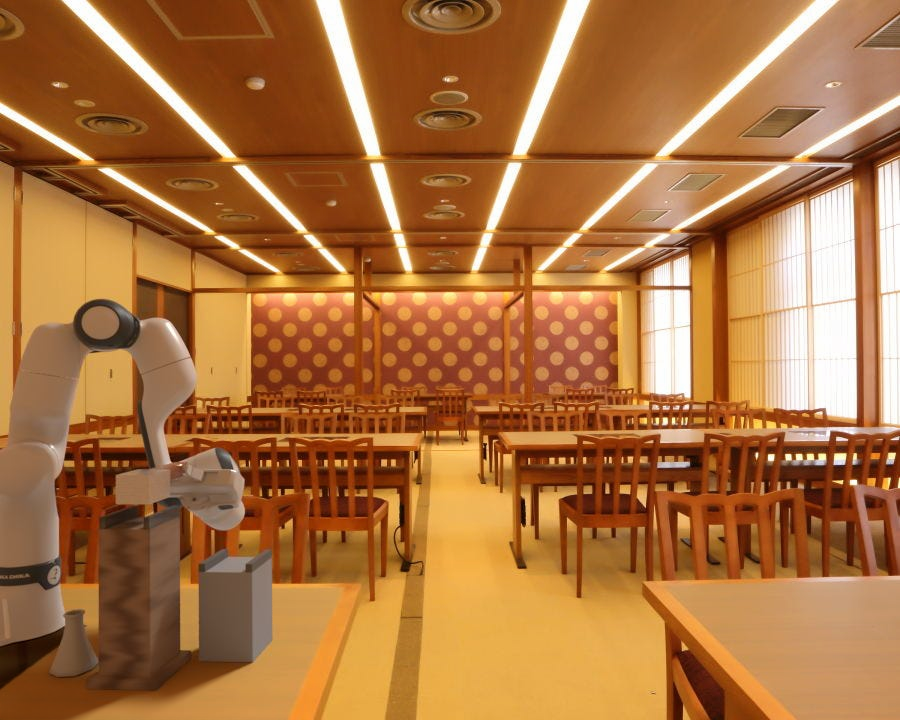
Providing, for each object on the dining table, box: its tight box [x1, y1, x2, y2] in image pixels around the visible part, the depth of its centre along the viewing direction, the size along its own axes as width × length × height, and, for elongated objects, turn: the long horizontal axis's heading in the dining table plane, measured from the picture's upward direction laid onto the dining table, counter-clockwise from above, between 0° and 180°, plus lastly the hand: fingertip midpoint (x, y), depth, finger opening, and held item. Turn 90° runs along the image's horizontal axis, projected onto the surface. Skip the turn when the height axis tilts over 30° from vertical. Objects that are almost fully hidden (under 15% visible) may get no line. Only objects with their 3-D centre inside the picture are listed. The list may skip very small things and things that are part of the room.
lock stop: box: [115, 461, 188, 505], centre depth 119 cm, size 6×17×5 cm, turn 175°
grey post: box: [198, 548, 274, 663], centre depth 122 cm, size 10×10×18 cm
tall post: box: [85, 505, 192, 691], centre depth 113 cm, size 12×12×28 cm
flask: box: [48, 608, 99, 678], centre depth 115 cm, size 7×7×10 cm
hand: (174, 468), depth 125 cm, fingers closed on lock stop, 2 cm apart
